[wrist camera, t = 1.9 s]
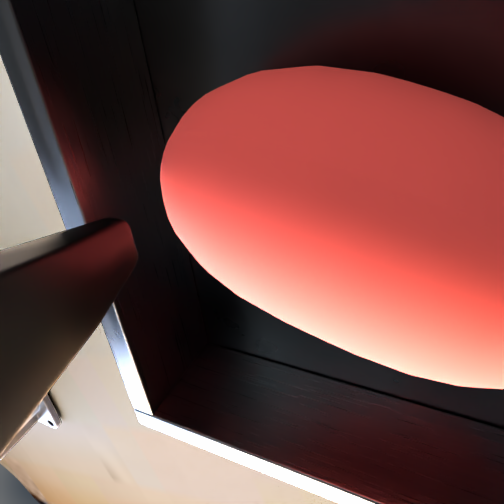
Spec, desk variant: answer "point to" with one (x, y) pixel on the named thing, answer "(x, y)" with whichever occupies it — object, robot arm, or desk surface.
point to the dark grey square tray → (207, 286)
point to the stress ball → (351, 213)
